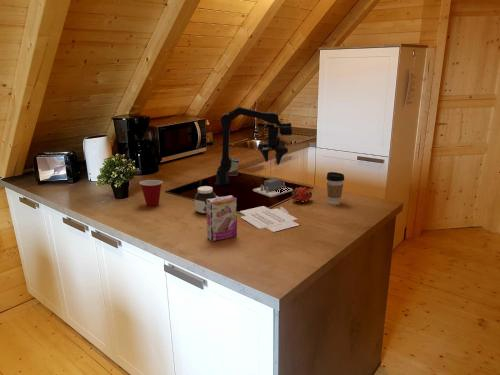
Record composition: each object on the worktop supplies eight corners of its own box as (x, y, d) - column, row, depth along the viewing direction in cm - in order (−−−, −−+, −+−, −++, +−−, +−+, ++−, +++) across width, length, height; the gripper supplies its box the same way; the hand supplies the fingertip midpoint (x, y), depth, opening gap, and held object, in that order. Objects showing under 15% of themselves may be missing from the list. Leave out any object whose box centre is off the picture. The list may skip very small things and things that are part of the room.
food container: (240, 173, 249) (240, 157, 246) (239, 175, 244) (239, 159, 240) (221, 172, 251) (221, 157, 248) (219, 175, 245) (219, 159, 242)
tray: (270, 197, 204) (271, 189, 203) (253, 190, 214) (253, 183, 213) (292, 190, 214) (292, 183, 213) (274, 185, 224) (274, 178, 223)
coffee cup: (326, 199, 200) (327, 170, 196) (343, 201, 198) (345, 172, 193) (324, 205, 193) (325, 175, 188) (341, 206, 190) (343, 176, 186)
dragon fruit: (289, 206, 196) (309, 205, 201) (298, 200, 189) (318, 200, 194) (286, 190, 198) (305, 190, 204) (295, 184, 191) (315, 184, 197)
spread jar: (193, 214, 182) (192, 190, 178) (199, 206, 193) (198, 183, 189) (219, 215, 180) (218, 191, 177) (224, 207, 191) (223, 184, 187)
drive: (269, 191, 210) (270, 182, 208) (263, 189, 213) (264, 180, 211) (281, 188, 215) (281, 179, 214) (275, 186, 219) (275, 177, 217)
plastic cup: (168, 202, 198) (166, 179, 194) (157, 209, 188) (155, 185, 185) (149, 200, 201) (147, 177, 198) (137, 207, 191) (134, 183, 188)
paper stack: (267, 235, 161) (267, 227, 160) (233, 216, 184) (232, 209, 183) (306, 225, 171) (306, 217, 170) (269, 208, 194) (269, 201, 193)
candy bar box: (212, 242, 153) (210, 202, 148) (207, 238, 158) (205, 199, 153) (237, 236, 158) (237, 198, 153) (232, 232, 163) (231, 194, 158)
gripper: (295, 136, 217) (294, 164, 221) (271, 131, 230) (271, 158, 235) (280, 138, 210) (280, 167, 215) (257, 134, 224) (257, 161, 228)
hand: (272, 163), depth 223 cm, fingers open, 9 cm apart
